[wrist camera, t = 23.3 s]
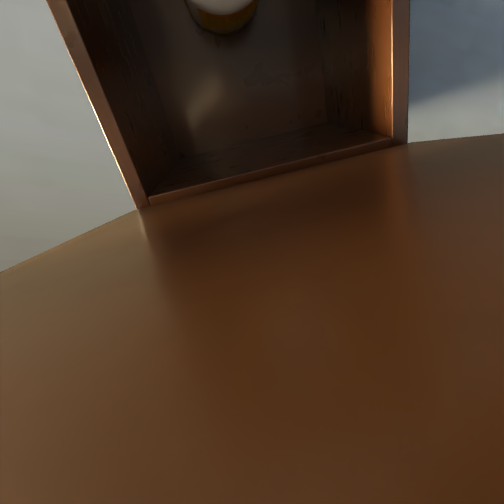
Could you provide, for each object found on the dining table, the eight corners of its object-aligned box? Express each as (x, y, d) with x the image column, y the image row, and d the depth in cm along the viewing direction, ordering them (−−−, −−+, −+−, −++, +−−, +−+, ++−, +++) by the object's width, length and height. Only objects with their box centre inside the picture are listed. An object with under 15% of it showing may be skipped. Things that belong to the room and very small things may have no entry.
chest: (90, -84, 19) (-96, -323, 8) (309, -150, 19) (420, -508, 8) (176, 167, 27) (138, 214, 16) (334, 128, 26) (407, 149, 15)
